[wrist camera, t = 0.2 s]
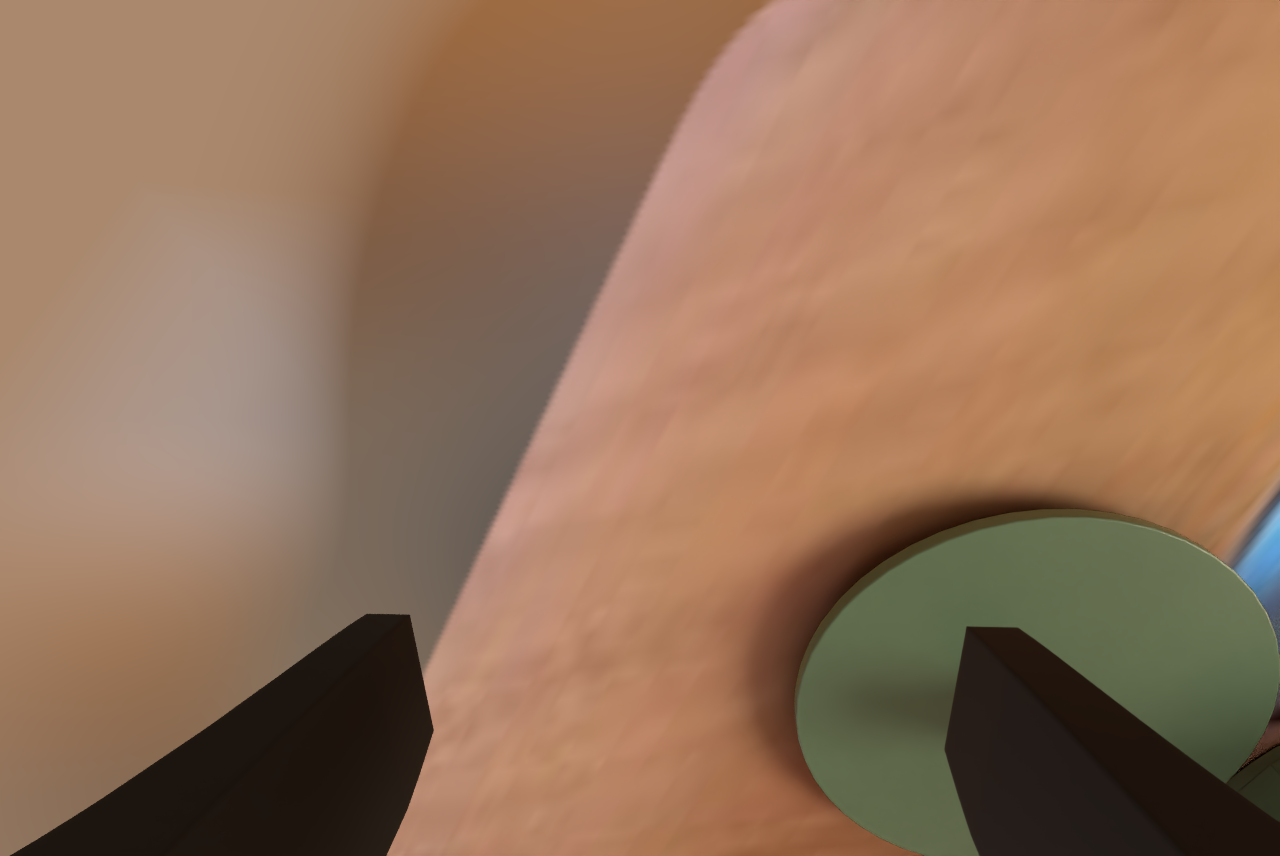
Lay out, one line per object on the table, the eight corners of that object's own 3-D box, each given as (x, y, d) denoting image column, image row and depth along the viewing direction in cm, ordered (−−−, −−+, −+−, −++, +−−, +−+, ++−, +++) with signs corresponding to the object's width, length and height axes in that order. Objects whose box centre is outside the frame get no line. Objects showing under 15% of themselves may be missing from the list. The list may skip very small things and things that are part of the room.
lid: (1263, 793, 21) (1412, 957, 16) (852, 865, 24) (887, 1021, 19) (1232, 433, 17) (1422, 527, 12) (735, 573, 19) (746, 689, 15)
